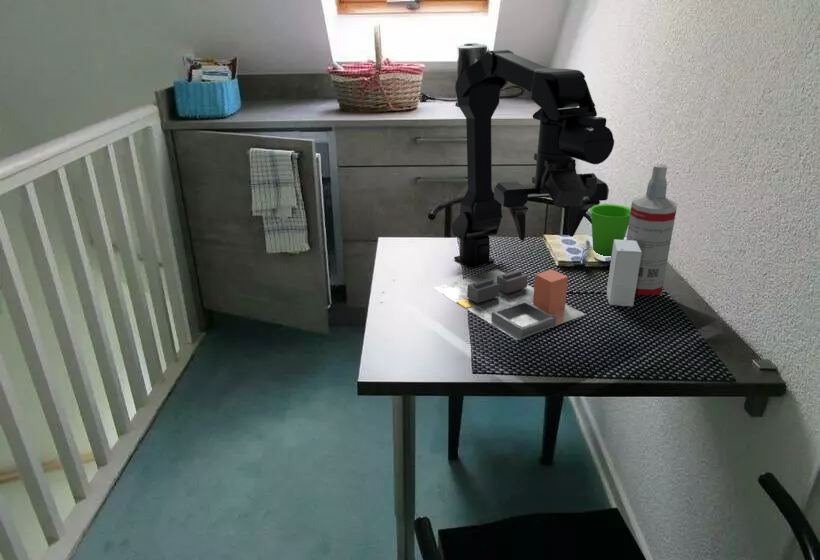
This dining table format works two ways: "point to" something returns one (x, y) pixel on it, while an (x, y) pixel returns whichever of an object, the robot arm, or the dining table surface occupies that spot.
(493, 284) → the toggle
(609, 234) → the cup
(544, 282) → the orange-red rectangular block
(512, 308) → the panel
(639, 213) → the spray bottle
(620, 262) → the skincare box
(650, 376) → the dining table surface
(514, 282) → the toggle
